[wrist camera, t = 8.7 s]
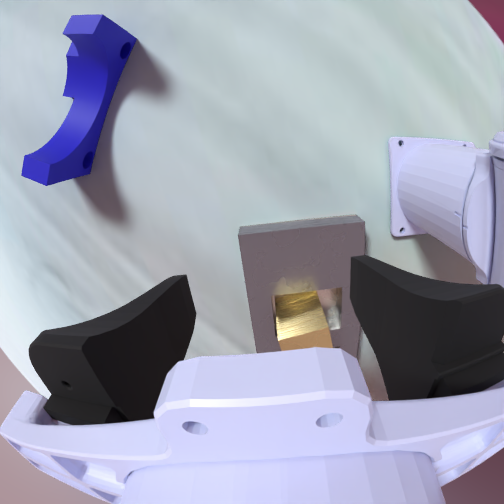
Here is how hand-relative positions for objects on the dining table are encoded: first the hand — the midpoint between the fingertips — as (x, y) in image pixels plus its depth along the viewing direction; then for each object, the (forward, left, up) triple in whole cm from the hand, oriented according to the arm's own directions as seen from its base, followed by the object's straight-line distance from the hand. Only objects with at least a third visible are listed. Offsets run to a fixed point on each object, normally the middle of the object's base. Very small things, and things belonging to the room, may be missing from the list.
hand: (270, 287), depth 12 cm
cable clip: (+13, -13, -10) cm, 21 cm away
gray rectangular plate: (-3, +10, -10) cm, 14 cm away
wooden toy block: (-2, +10, -10) cm, 14 cm away
